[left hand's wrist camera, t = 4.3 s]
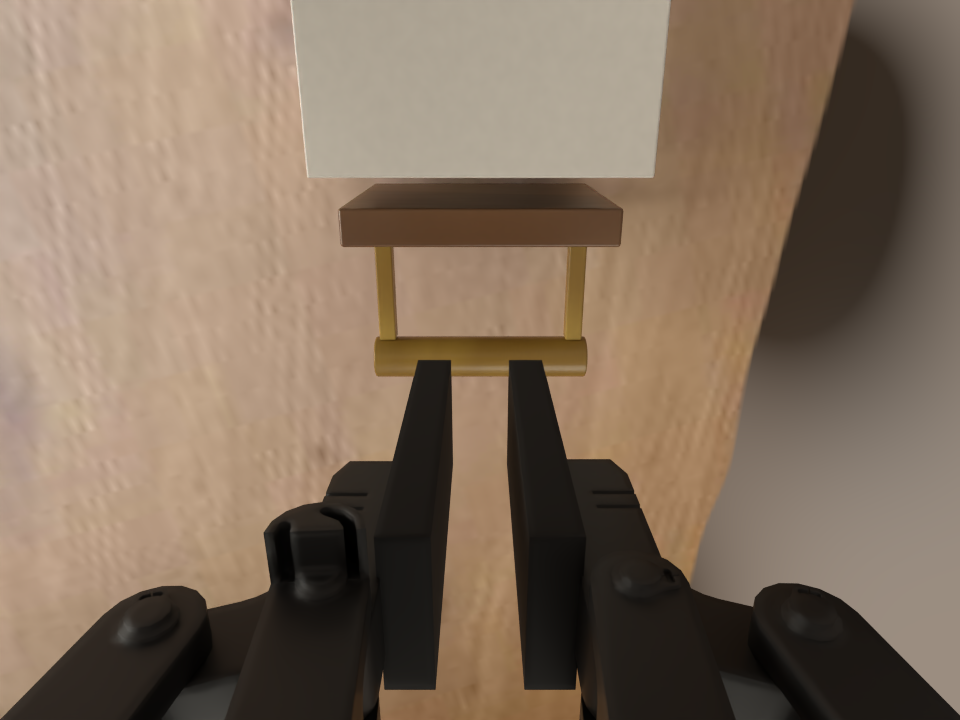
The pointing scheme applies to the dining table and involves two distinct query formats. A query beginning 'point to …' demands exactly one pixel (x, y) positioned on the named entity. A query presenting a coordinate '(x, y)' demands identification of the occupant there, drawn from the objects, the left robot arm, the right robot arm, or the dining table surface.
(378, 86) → the cream rectangular box
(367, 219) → the drawer
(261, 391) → the dining table surface
